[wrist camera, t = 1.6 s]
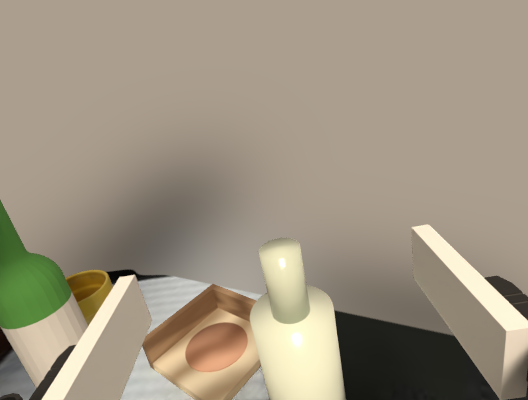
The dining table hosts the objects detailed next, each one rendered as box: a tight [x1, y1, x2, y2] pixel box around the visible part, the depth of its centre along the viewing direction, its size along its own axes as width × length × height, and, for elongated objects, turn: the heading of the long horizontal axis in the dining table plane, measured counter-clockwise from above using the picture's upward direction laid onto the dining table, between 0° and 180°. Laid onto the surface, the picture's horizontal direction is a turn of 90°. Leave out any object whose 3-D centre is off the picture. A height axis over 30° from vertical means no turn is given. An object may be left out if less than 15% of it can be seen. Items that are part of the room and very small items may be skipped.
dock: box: [142, 284, 261, 400], centre depth 50 cm, size 14×14×5 cm
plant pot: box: [65, 270, 113, 326], centre depth 58 cm, size 10×10×10 cm
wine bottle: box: [0, 200, 88, 389], centre depth 42 cm, size 8×8×30 cm
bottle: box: [250, 238, 346, 400], centre depth 32 cm, size 7×7×24 cm
